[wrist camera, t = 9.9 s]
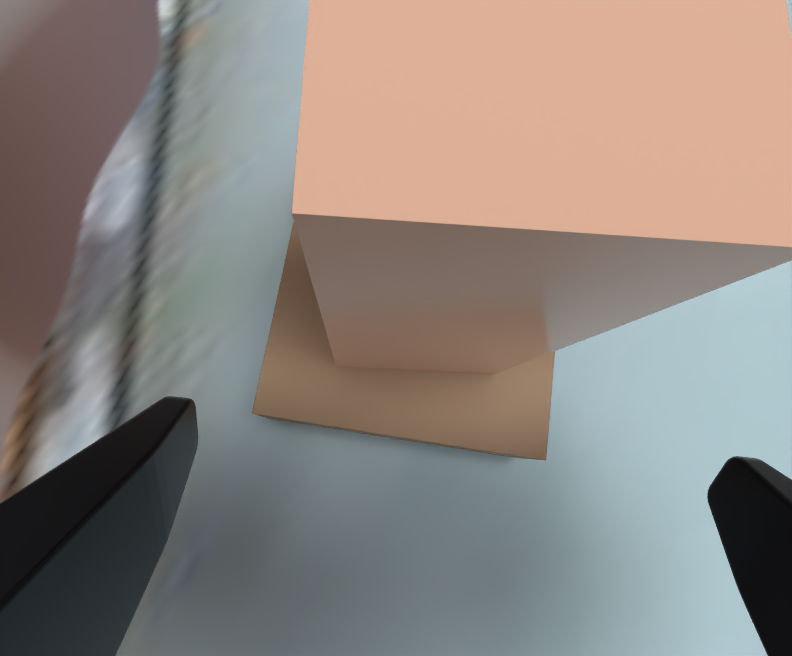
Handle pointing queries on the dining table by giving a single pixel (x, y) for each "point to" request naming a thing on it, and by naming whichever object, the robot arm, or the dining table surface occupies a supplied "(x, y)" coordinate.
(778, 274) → the dining table surface
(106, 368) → the dining table surface
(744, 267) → the tall peach box
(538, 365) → the brown flat block
